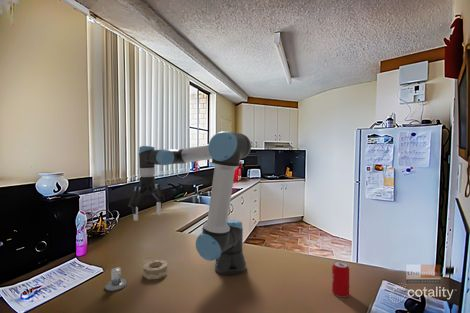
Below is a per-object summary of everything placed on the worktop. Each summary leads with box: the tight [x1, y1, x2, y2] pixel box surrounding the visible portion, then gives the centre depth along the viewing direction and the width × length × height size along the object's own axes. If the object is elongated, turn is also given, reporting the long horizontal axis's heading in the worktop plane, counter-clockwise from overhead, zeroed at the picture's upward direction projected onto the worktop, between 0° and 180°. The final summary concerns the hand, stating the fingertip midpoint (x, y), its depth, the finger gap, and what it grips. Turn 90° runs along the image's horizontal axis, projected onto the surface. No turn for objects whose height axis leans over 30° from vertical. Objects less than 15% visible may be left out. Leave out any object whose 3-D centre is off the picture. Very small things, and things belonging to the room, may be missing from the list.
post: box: [104, 266, 128, 292], centre depth 102 cm, size 8×8×7 cm
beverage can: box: [331, 260, 350, 299], centre depth 96 cm, size 6×6×12 cm
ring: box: [143, 259, 168, 280], centre depth 113 cm, size 10×10×4 cm
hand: (147, 217), depth 126 cm, fingers open, 13 cm apart
